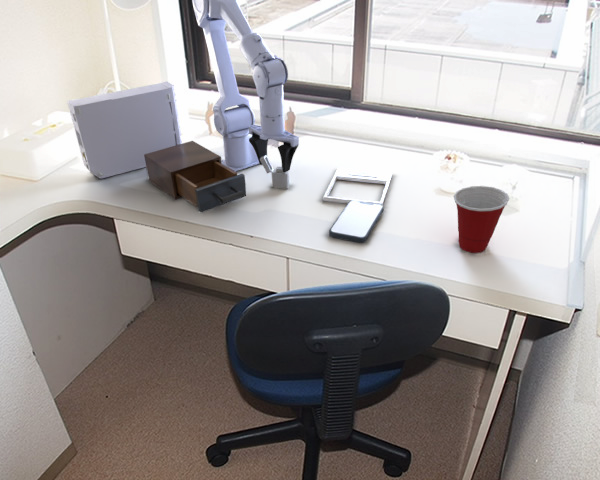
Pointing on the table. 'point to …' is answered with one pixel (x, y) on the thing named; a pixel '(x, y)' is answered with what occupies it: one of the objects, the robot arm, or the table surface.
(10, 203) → the table surface
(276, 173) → the lighter
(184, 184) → the drawer
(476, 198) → the plastic cup
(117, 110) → the game console
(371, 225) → the smartphone
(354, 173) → the photo frame
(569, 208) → the table surface
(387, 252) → the table surface
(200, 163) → the cabinet
